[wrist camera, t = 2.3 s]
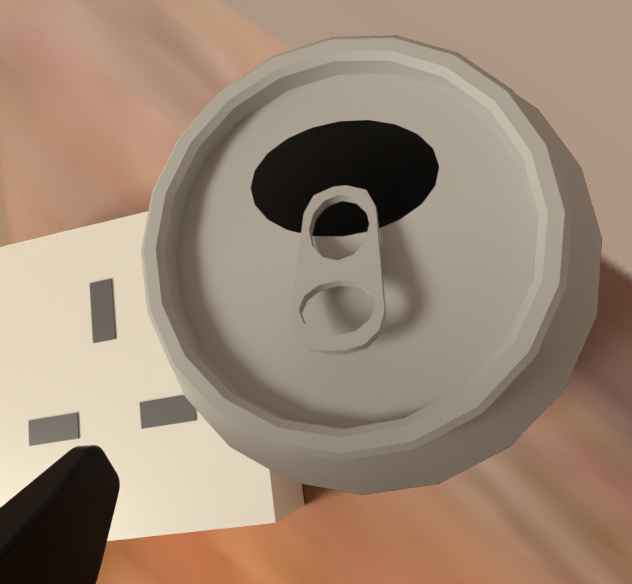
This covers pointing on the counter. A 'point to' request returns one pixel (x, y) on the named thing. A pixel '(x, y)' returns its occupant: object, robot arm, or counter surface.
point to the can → (370, 264)
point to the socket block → (113, 390)
